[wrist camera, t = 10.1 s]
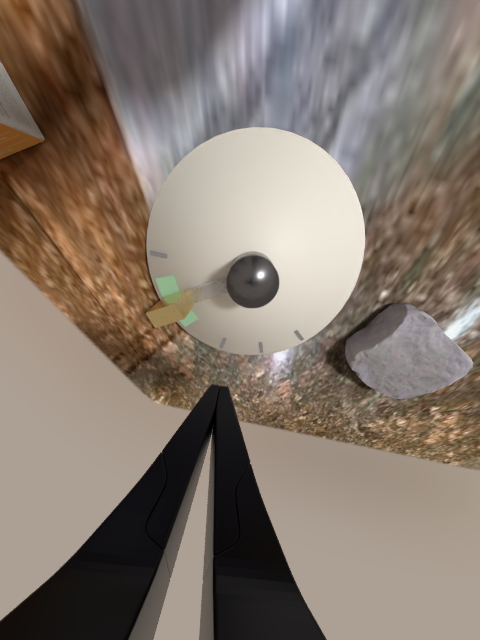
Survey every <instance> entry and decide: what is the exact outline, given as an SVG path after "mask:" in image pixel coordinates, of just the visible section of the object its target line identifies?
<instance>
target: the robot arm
mask: <svg viewBox="0 0 480 640" xmlns="http://www.w3.org/2000/svg"><path fill="white" fill-rule="evenodd" d="M219 387H220V388H219ZM212 429H213V431H212ZM211 434H212V442H211V456H210V474H209V489H208V505H207V506H208V507H207V523H206V538H205V555H204V572H203V586H202V604H201V619H200V635H199V636H200V637H199V640H327V639H326V638H325V636H324V634H323V633H322V631H321V629H320V627H319V625H318V624H317V622H316V620H315V618H314V617H313V615H312V613H311V611H310V610H309V608H308V606H307V604H306V603H305V601H304V599H303V597H302V595H301V592H300V590H299V588H298V586H297V584H296V582H295V580H294V577H293V575H292V573H291V570H290V568H289V566H288V563H287V561H286V558H285V556H284V553H283V551H282V548H281V546H280V543H279V541H278V538H277V536H276V533H275V531H274V528H273V526H272V523H271V521H270V518H269V516H268V513H267V511H266V508H265V505H264V503H263V500H262V497H261V494H260V492H259V488H258V485H257V482H256V479H255V476H254V473H253V469H252V466H251V464H250V459H249V456H248V452H247V449H246V446H245V442H244V439H243V435H242V432H241V428H240V425H239V422H238V418H237V415H236V411H235V408H234V404H233V401H232V398H231V394H230V391H229V388H228V387H227V386H219V385H214V384H212V385H210V387H209V388H208V389H207V391H206V392H205V393H204V395H203V396H202V398H201V399H200V400H199V402H198V403H197V404H196V406H195V407H194V408H193V410H192V411H191V412H190V414H189V415H188V416H187V418H186V419H185V421H184V422H183V423H182V425H181V426H180V427H179V429H178V430H177V431H176V433H175V434H174V435H173V437H172V438H171V439H170V441H169V442H168V444H167V445H166V446H165V448H164V449H163V450H162V453H160V454H159V456H158V457H157V458H156V460H155V461H154V462H153V464H152V465H151V466H150V467H149V469H148V470H147V471H146V473H145V474H144V475H143V477H142V478H141V479H140V480H139V481H138V483H137V484H136V485H135V486H134V487H133V488H132V490H131V491H130V492H129V493H128V494H127V496H126V497H125V498H124V499H123V500H122V501H121V502H120V503H119V505H118V506H117V507H116V508H115V509H114V510H113V512H112V513H111V514H110V515H109V516H108V517H107V518H106V519H105V520H104V522H103V523H102V524H101V525H100V526H99V527H98V528H97V529H96V531H95V532H94V533H93V534H92V535H91V536H90V537H89V539H88V540H87V541H86V542H85V543H84V544H83V545H82V546H81V548H80V549H79V550H78V551H77V552H76V553H75V554H74V555H73V556H72V557H71V558H70V559H69V560H68V561H67V562H66V563H65V564H64V565H63V566H62V567H61V568H60V569H59V570H58V571H57V572H56V573H55V574H54V575H53V576H52V577H50V578H49V579H48V580H47V581H46V582H45V583H44V584H42V585H41V586H40V587H39V588H38V589H37V590H35V591H34V592H33V593H32V594H31V595H30V596H29V597H27V598H26V599H25V600H24V601H23V602H22V603H20V604H19V605H18V606H17V607H16V608H15V609H13V611H11V612H10V613H9V614H8V615H6V616H5V617H4V618H3V619H2V620H1V621H0V640H153V638H154V635H155V631H156V628H157V624H158V620H159V617H160V613H161V610H162V607H163V603H164V599H165V596H166V593H167V589H168V586H169V582H170V578H171V575H172V571H173V568H174V564H175V561H176V557H177V554H178V551H179V547H180V544H181V540H182V536H183V533H184V530H185V526H186V522H187V519H188V515H189V512H190V508H191V505H192V501H193V498H194V494H195V491H196V487H197V484H198V480H199V476H200V473H201V469H202V466H203V463H204V459H205V456H206V452H207V449H208V445H209V442H210V438H211Z"/></svg>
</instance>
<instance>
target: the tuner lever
mask: <svg viewBox="0 0 480 640" xmlns="http://www.w3.org/2000/svg"><path fill="white" fill-rule="evenodd" d="M278 289H279V275H278V272H277V270H276V269H275V267H274V265H273V263H272V262H271V260H270V259H269V258H268V257H267V256H266V255H264V254H262V253H260V252H256V251H250V252H245V253H243V254H241V255H239V256H238V257H237V258H236V259H235V260H234V262H233V263H232V265H231V268H230V270H229V273H228V276H226V277H223V278H220V279H217V280H214V281H211V282H208V283H205V284H202V285H199V286H196V287H193V288H187V289H184V290H182V291H179V292H176V293H173V294H170V295H167V296H164V297H163V298H162V299H161V300H160V301H159V302H157V303H156V304H155V305H154V306H153V307H152V308H151V309H149V310H148V311H147V312H146V315H147V316H148V318H149V319H150V321H151V322H152V324H153V325H154V327H155V328H157V327H161V326H164V325H167V324H171V323H174V322H177V321H180V320H184V319H185V318H186V316H187V315H188V313H189V312H190V310H191V309H192V307H193V306H194V304H195V303H197V302H200V301H203V300H207V299H210V298H213V297H216V296H219V295H222V294H225V293H229V295H230V297H231V298H232V300H233V301H234V302H235V303H237V304H238V305H240V306H242V307H245V308H260V307H263V306H265V305H267V304H268V303H269V302H271V301H272V300H273V299H274V297H275V296H276V294H277V292H278Z"/></svg>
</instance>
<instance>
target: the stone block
mask: <svg viewBox="0 0 480 640" xmlns="http://www.w3.org/2000/svg"><path fill="white" fill-rule="evenodd" d="M345 355H346V359H347V362H348V364H349V366H350V367H351V369H352V370H353V371H355V372H356V374H357V376H358V377H359V378H360V379H361V380H362V381H363V382H364V383H365V384H366V385H368V386H369V387H371V388H374V389H376V390H377V391H378V392H381V393H383V394H385V395H387V396H388V397H391V398H395V399H407V398H412V397H415V396H419V395H422V394H425V393H431V392H435V391H436V390H437V389H440V388H442V387H444V386H448V385H451V384H452V383H453V382H455V381H457V380H459V379H460V378H462V377H463V376H465V375H466V374H467V373H468V372H469V370H470V368H472V367H473V366H472V365H473V361H472V360H471V358H470V357H469V356H468V355H467V354H466V353H465V352H464V351H463V350H462V349H461V348H460V347H459V346H458V345H457V344H456V343H454V342H453V341H452V340H451V339H450V338H449V337H447V336H446V335H445V334H444V333H443V332H442V330H441V329H440V328H439V327H438V326H437V323H436V321H435V320H434V319H433V318H432V317H431V316H429V315H428V314H426V313H425V312H423V311H421V310H419V309H417V308H416V307H414V306H412V305H410V304H408V303H396V304H391V305H390V306H389V307H387V308H386V309H385V310H383V311H382V312H381V313H379V314H378V315H377V316H376V317H375V318H374V319H373V320H372V321H371V322H370V324H369V325H368V326H366V327H365V328H363V329H361V330H360V331H358V332H356V333H355V334H353V335H352V336H351V337H349V338H348V339H347V340H346V346H345Z"/></svg>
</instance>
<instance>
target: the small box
mask: <svg viewBox="0 0 480 640" xmlns="http://www.w3.org/2000/svg"><path fill="white" fill-rule="evenodd" d="M44 140H45V138H44V136H43V135H42V133H41V131H40V130H39V128H38V126H37V124H36V123H35V121H34V119H33V117H32V116H31V114H30V112H29V110H28V109H27V107H26V105H25V103H24V102H23V100H22V98H21V96H20V95H19V93H18V91H17V89H16V88H15V86H14V84H13V82H12V81H11V79H10V77H9V75H8V73H7V72H6V70H5V68H4V66H3V64H2V63H1V61H0V159H2V158H5V157H7V156H9V155H11V154H14V153H16V152H19V151H21V150H24V149H26V148H28V147H31V146H34V145H36V144H39V143H41V142H44Z"/></svg>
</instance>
